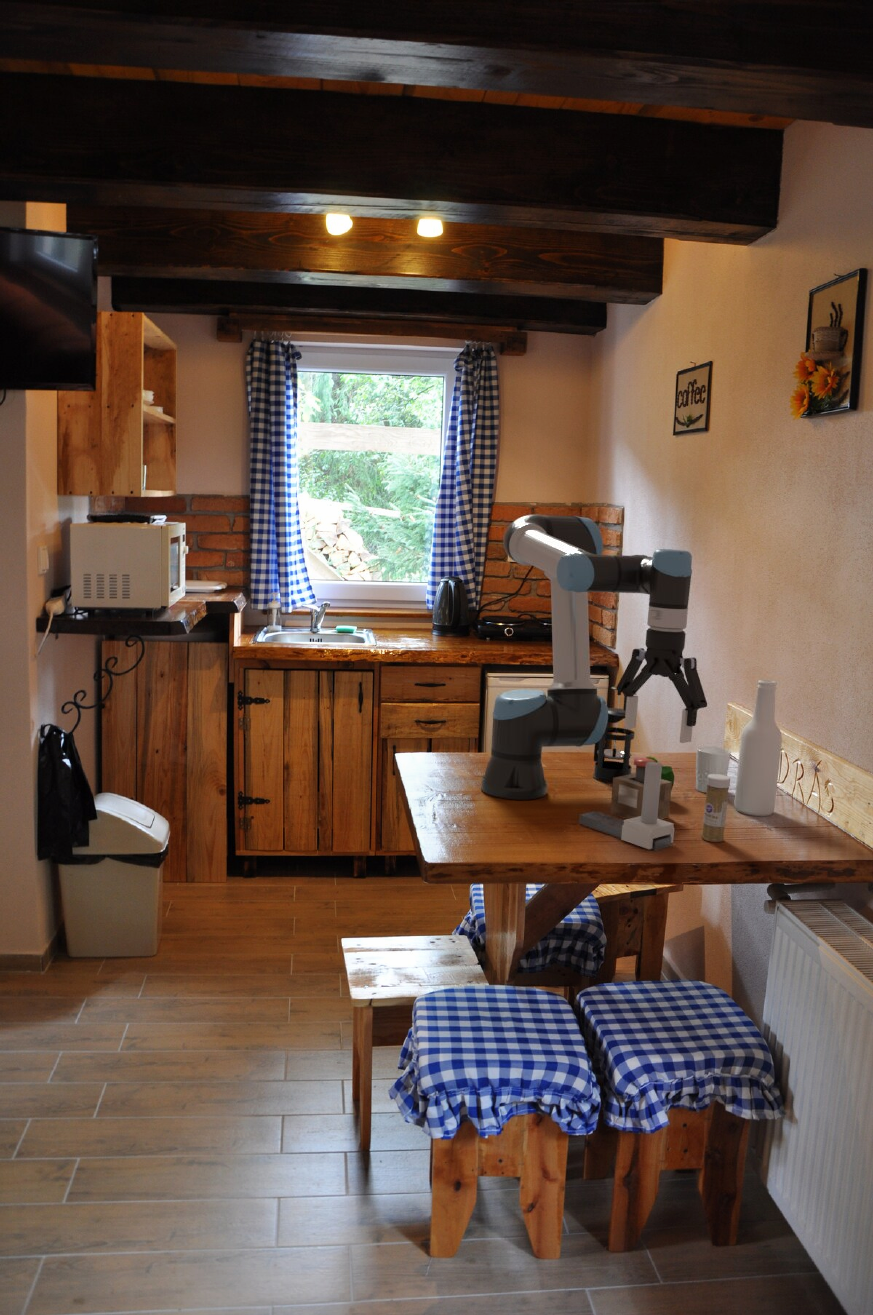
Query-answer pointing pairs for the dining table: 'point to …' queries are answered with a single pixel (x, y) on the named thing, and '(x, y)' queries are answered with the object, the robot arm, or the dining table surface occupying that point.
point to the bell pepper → (666, 772)
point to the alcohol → (759, 756)
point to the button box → (636, 797)
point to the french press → (612, 768)
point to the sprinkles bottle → (715, 807)
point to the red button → (641, 768)
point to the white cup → (710, 764)
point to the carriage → (648, 813)
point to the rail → (616, 827)
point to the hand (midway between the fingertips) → (657, 735)
